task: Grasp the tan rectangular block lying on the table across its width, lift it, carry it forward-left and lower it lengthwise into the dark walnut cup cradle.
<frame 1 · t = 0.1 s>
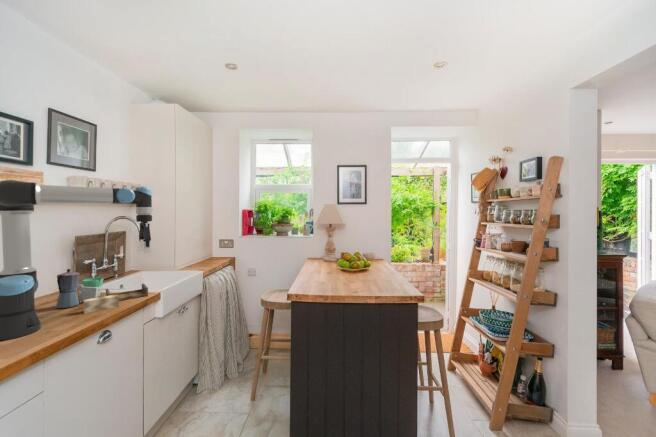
hand: (145, 251, 160), 28 cm above the countertop, fingers open, 13 cm apart
cradle: (127, 296, 169), on the countertop
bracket: (87, 301, 161), on the countertop
green lidded container: (95, 294, 174), on the countertop
tan rectangular block: (101, 309, 147), on the countertop
moka pot: (68, 306, 152), on the countertop
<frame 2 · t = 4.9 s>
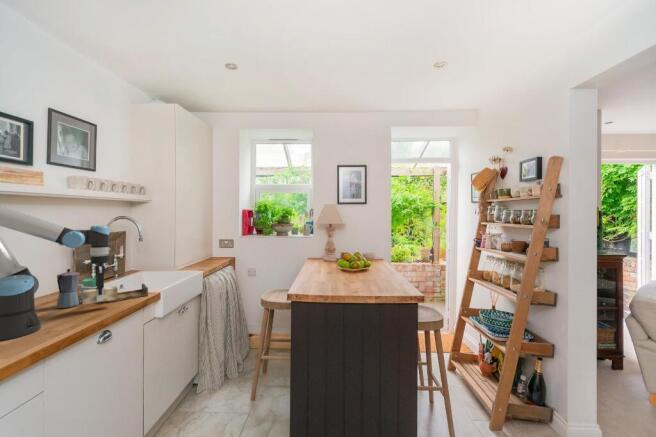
hand: (99, 299, 147), 5 cm above the countertop, fingers closed on tan rectangular block, 5 cm apart
tan rectangular block: (100, 300, 147), point 4 cm above the countertop, touching gripper
everything else where it was.
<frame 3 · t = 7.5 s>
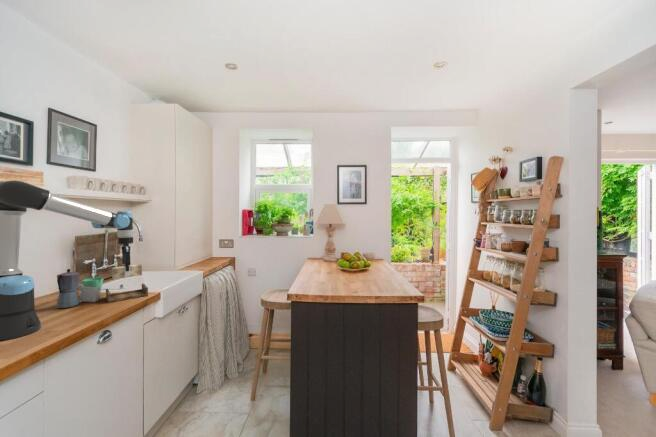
hand: (126, 275, 168), 13 cm above the countertop, fingers closed on tan rectangular block, 5 cm apart
tan rectangular block: (127, 276, 169), point 12 cm above the countertop, touching gripper
everything else where it was.
when the fingers open (1 cm above the countertop, at t = 10.0 s): tan rectangular block stays where it is, resting on cradle.
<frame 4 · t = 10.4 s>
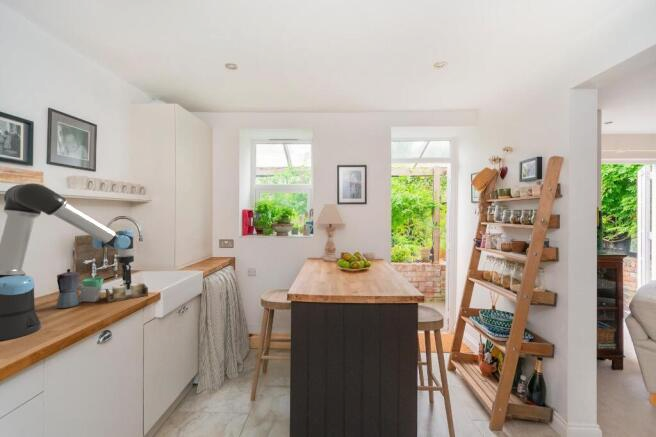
hand: (127, 292, 169), 2 cm above the countertop, fingers open, 10 cm apart
tan rectangular block: (127, 295, 169), resting on cradle
everything else where it was.
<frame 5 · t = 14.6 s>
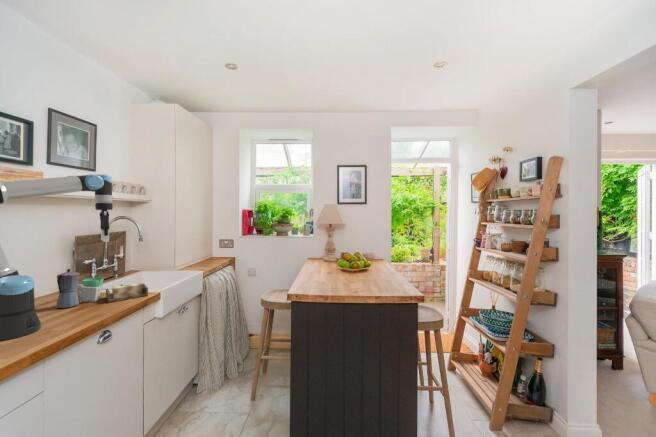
hand: (105, 240, 157), 35 cm above the countertop, fingers open, 13 cm apart
nothing on the countertop moved.
at the end: tan rectangular block inside the target area on the cradle (0.2 cm from its centre), point 0.5 cm above the cradle's base; the gripper is holding nothing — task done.
